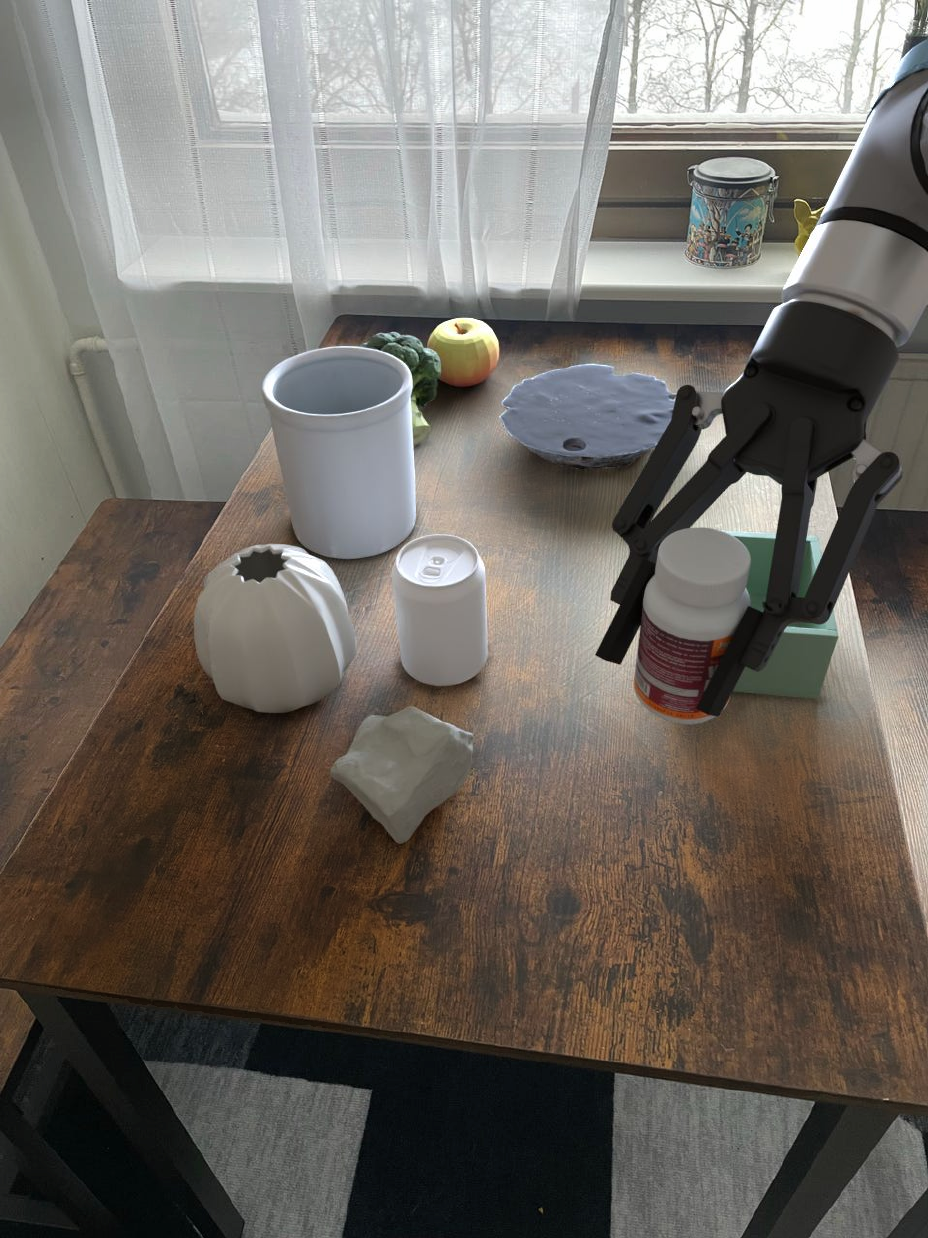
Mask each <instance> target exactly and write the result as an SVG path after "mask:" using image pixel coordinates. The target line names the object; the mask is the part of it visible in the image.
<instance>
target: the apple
mask: <svg viewBox="0 0 928 1238" xmlns="http://www.w3.org/2000/svg"><path fill="white" fill-rule="evenodd" d="M499 345H500V344H499V340H498V338H497V336H496V334H495V332H494V331H493V328H492V327H490V326H489V325H488V324H487V323H486V322H484V321H482V320H479V319H475V318H470V317H459V318H453V319H450V320H447V321H444V322H442V323H440V324H439V325H437V326H436V328H435V329H434V330H433V331H432V332H431V334H430V335H429V338H428V340H427V345H426V346H427V347H426V348H429V349H431V350H433V351H435V352H436V353H437V355H438V357H439V358H440V363H441V375H440V377H439V380H440V381H441V382H444V383H445V384H448V385H450V386H454V387H459V388H461V387H462V388H463V387H464V388H465V387H471V386H475V385H477V384H478V385H479V384H480V383H482V382H484V381H485V380H487V378H489V377H490V375H492V374H493V373H494V370H495V369H496V366H497V364H498V362H499V358H500V346H499Z"/></svg>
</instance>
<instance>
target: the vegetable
mask: <svg viewBox="0 0 928 1238" xmlns="http://www.w3.org/2000/svg"><path fill="white" fill-rule="evenodd" d="M358 347H362V348H369V349H374V350H379V351H382V352H385V353H388V354H390V355H392V356H394V357H396V358H398V359H399V360H401V361H402V362H403V363H404V364H405V365H406V366H407V367H408V368H409V370H410V372H411V375H412V393H411V396H410V398H411V411H412V433H413V447H417V446H419V445H421V444H422V443H424V442H425V441H427V440H428V438H429V435H430V433H431V425H430V424H429V423H428V422H427V421H426V419H425V418H424V416H423V412H422V411H420V410H419V408H418V407H420V408H424V407H425V405H426V404H428V403H430V402H432V401H433V400H435V399H436V396H437V394H438V391H437V388H438V381H437V380H438V379H439V377H440V375H441V363H440V358H439V357H438V355H437V353H436V352H435V351H433V350H431V349H429V348H427V347H424V345H423V343H422V342H421V340H420V339H419V338H417V337H416V336H414V335H411V334H402V335H401V334H400V333H399V332H395V331H391V332H388V333H383V332H379V333H376V334H374V335H372V336H371V337H370V339H369V340H368V341H367V342H365V343H362V344H360V345H359V346H358ZM439 380H440V379H439Z"/></svg>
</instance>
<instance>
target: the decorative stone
mask: <svg viewBox="0 0 928 1238" xmlns="http://www.w3.org/2000/svg"><path fill="white" fill-rule="evenodd" d="M474 738H475V737H474V734H473V733H472V732H468V731H465V730H463V729H461V728H459V727H456V725H454V724H452V723H449V722H446V721H442V720H441V719H439V718H437V717H434V716H432V715H431V714H429V713H427V712H425V711H423V710H421V709H419V708H417V707H415V706H413V705H408V706H407V707H405V708H404V709H402V710H399V711H397V712H395V713H392V714H389V715H388V716H386V715H378V714H377V715H374V714H370V715H369V716H367V717H366V718H365V719H364V720H363V721H362V722H361V724H360V725H359V727H358V729H357V731H356V734H355V736H354V738H353V740H352V743H351V745H350V747H349V749H348V750H347V752H346V753H345V755H344V756H341V757H339V758H338V759H337V760H335V762H334V763H333V764H332V767H331V769H330V770H329V773H330V777H331V778H332V779H333V780H336V781H337V782H338V783H340V784H341V785H344V787H346V788H347V790H348V791H350V793H351V794H352V795H353V796H354V797H355V798H356V799H357V800H358V801H359V802H360V803H361V804H362V805H363V807H364V808H365V809H366V810H367V811H368V813H370V816H371V817H372V818H373V819H374V820H375V821H376V822H378V823H380V824H381V825H382V827H383V828H384V829H385V830H386V832H387V833H388V834H389V836H390V837H391V838H392V839H393V840H394V841H395V843H396V844H399V845H400V844H401V845H402V844H404V843H406V842H408V841H409V840H410V839H411V838H412V837H413V834H414V833H415V831H416V830H417V829H418V827H420V825H421V823H422V822H423V820H424V818H425V817H426V815H428V814H430V812H432V810H434V809H435V808H437V807H439V806H440V805H442V804H443V803H444V802H445V801H446V800H447V799H449V798H451V797H453V796H454V795H456V793H458V792H459V791H460V789H461V788H462V786H463V785H464V784H465V782H466V780H467V778H468V776H469V774H470V771H471V769H472V763H473V753H474Z"/></svg>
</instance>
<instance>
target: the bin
mask: <svg viewBox="0 0 928 1238" xmlns="http://www.w3.org/2000/svg"><path fill="white" fill-rule="evenodd" d="M720 531H723V532H725V533H728V534H730V535H732V536H734V537H735V538H737V539H738V540H739V541H741V542H742V543H743V544H744V545H745V547H746V548H747V549H748V551H749V554H750V558H751V564H750V569H749V574H748V581H747V585H746V589H747V591H748V593H749V596H750V602H751V607H752V608H755V609H757V610H759V611H761V612H762V613H763V611H764V608H763V604H762V602H766V595H767V589H768V583H769V576H770V570H771V563H772V557H773V551H774V544H775V538H776V533H768V532H754V531H753V532H751V531H735V530H720ZM822 555H823V552H822V549H821V543H820V539H819V536H818V535H807V538H806V545H805V551H804V558H803V564H802V571H801V577H800V584H799V590H798V597H802V598H804V597H805V595H806V592H807V590H808V588H809V585H810V583H811V581H812V578H813V576H814V574H815V571H816V569H817V567H818V564H819V562H820V560H821V557H822ZM834 612H835V611H834V610H833V611H832V613H831V616H830V618H829V619H828V621H827V622H825V623H824V624H820V625H818V624H814V623H806V622H794V623H791V624H789V625H788V626H787V627H786V628H785V630H784V632H783V634H782V636H781V638H780V639H779V641H778V643H777V645H776V647H775V649H774V651H773V653H772V655H771V656H770V659H769V661H768V663H767V664H766V666H765V667H764V668H763V669H762V670H761V671H759V672H757V671H754V670H752V669H750V668H748V667H746V666H745V668H744V670H743V672H742V674H741V676H740V678H739V680H738V682H737V684H736V686H735V688H734V690H733V691H732V693H743V694H744V693H746V694H757V695H768V696H769V695H770V696H779V697H791V698H792V697H793V698H803V699H815V700H818V699H820V698H819V697H820V694H821V691H822V688H823V686H824V683H825V680H826V677H827V673H828V671H829V667H830V664H831V660H832V657H833V655H834V652H835V648H836V645H837V642H838V639H839V633H838V627H837V622H836V618H835V613H834Z"/></svg>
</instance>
